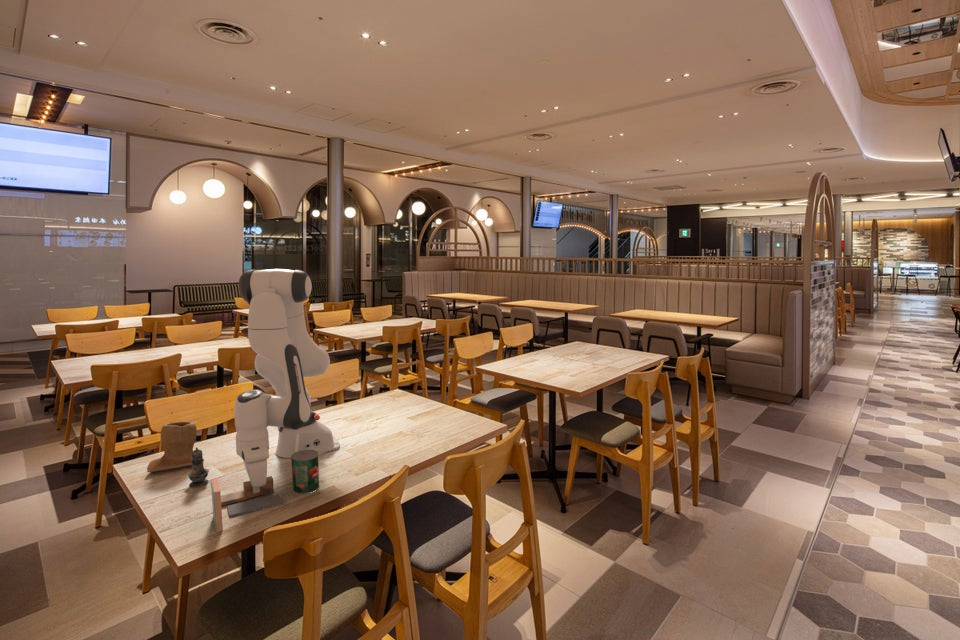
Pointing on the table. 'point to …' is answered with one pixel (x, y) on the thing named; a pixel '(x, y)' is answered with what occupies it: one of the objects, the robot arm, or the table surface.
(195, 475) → the dark grey stupa figurine
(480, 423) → the table surface
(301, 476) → the canned tomato
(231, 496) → the wooden l-shaped bracket
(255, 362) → the robot arm
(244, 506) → the grey flat slab
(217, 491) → the tile
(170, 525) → the table surface
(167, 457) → the tan suede boot
